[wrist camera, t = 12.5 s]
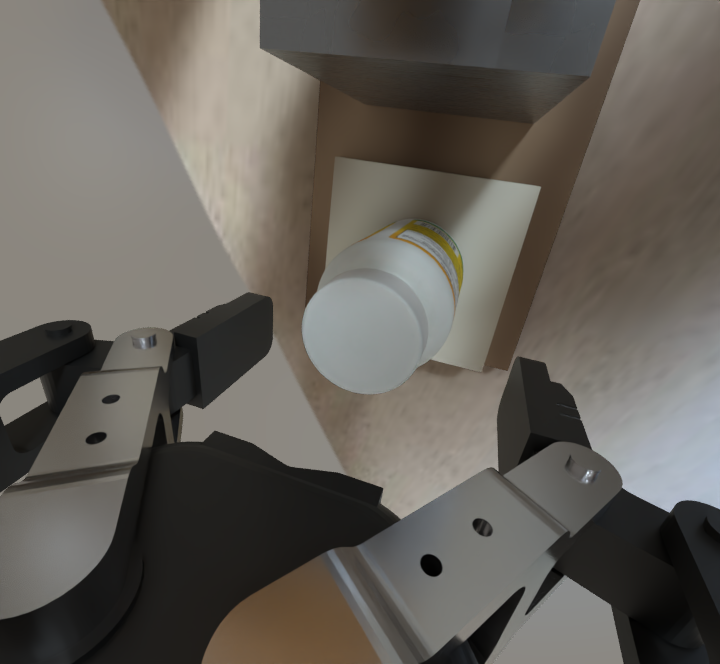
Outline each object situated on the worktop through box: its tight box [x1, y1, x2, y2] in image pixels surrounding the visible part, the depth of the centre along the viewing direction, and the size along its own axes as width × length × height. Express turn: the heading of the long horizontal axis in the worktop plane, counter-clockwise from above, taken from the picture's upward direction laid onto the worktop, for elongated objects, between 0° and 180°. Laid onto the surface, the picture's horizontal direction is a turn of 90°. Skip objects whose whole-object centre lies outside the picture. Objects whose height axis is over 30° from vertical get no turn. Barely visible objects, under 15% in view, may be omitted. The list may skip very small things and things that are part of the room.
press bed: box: [305, 0, 640, 372], centre depth 18 cm, size 13×22×2 cm, turn 172°
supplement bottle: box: [302, 219, 464, 394], centre depth 16 cm, size 5×5×10 cm
